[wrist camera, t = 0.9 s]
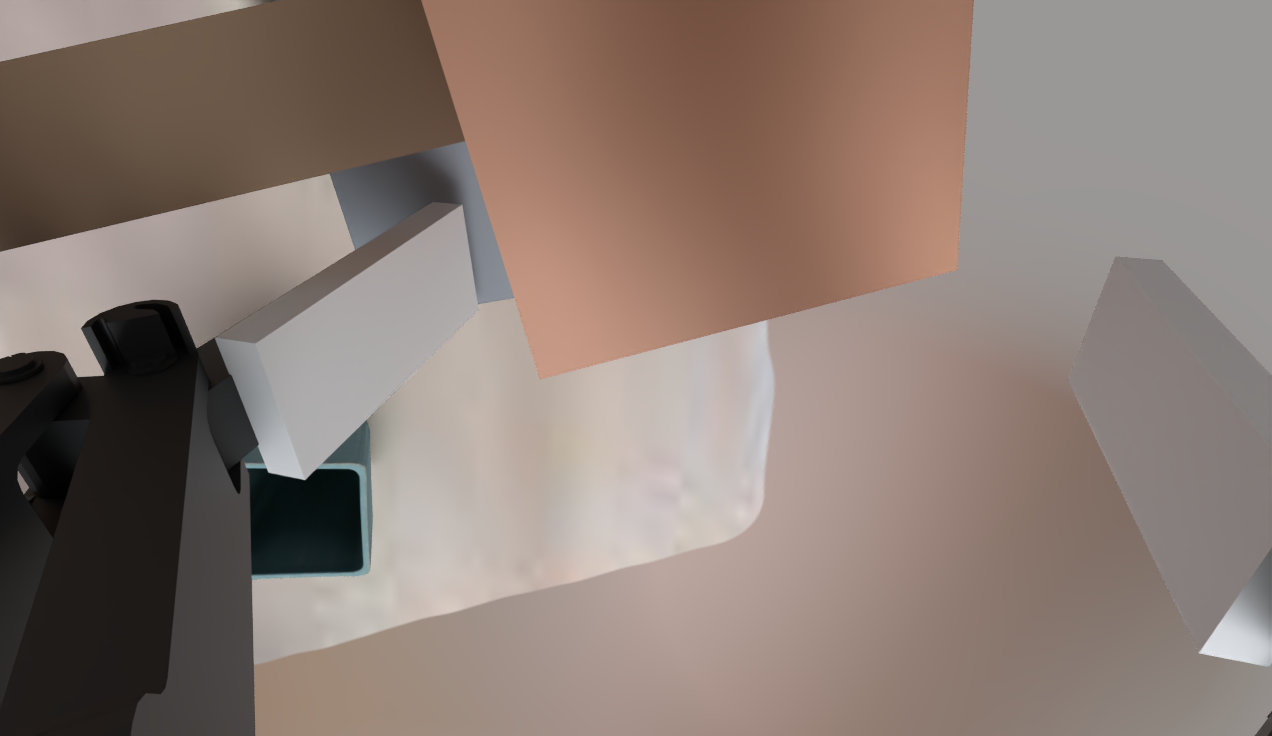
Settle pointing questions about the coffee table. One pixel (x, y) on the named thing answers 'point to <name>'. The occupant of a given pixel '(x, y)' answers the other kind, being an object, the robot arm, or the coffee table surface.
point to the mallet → (543, 142)
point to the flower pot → (313, 515)
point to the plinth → (424, 205)
